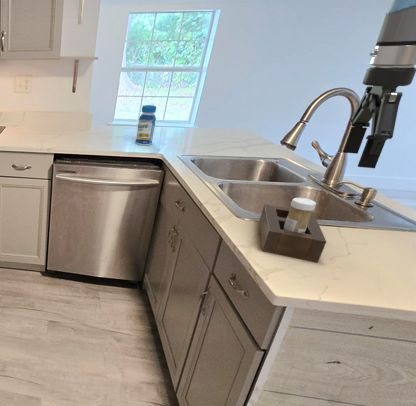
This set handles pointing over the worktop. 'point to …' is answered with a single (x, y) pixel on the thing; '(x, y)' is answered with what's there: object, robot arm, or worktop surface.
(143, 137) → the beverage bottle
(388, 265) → the worktop surface
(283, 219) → the spice stand
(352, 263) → the worktop surface
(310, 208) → the sprinkles bottle
